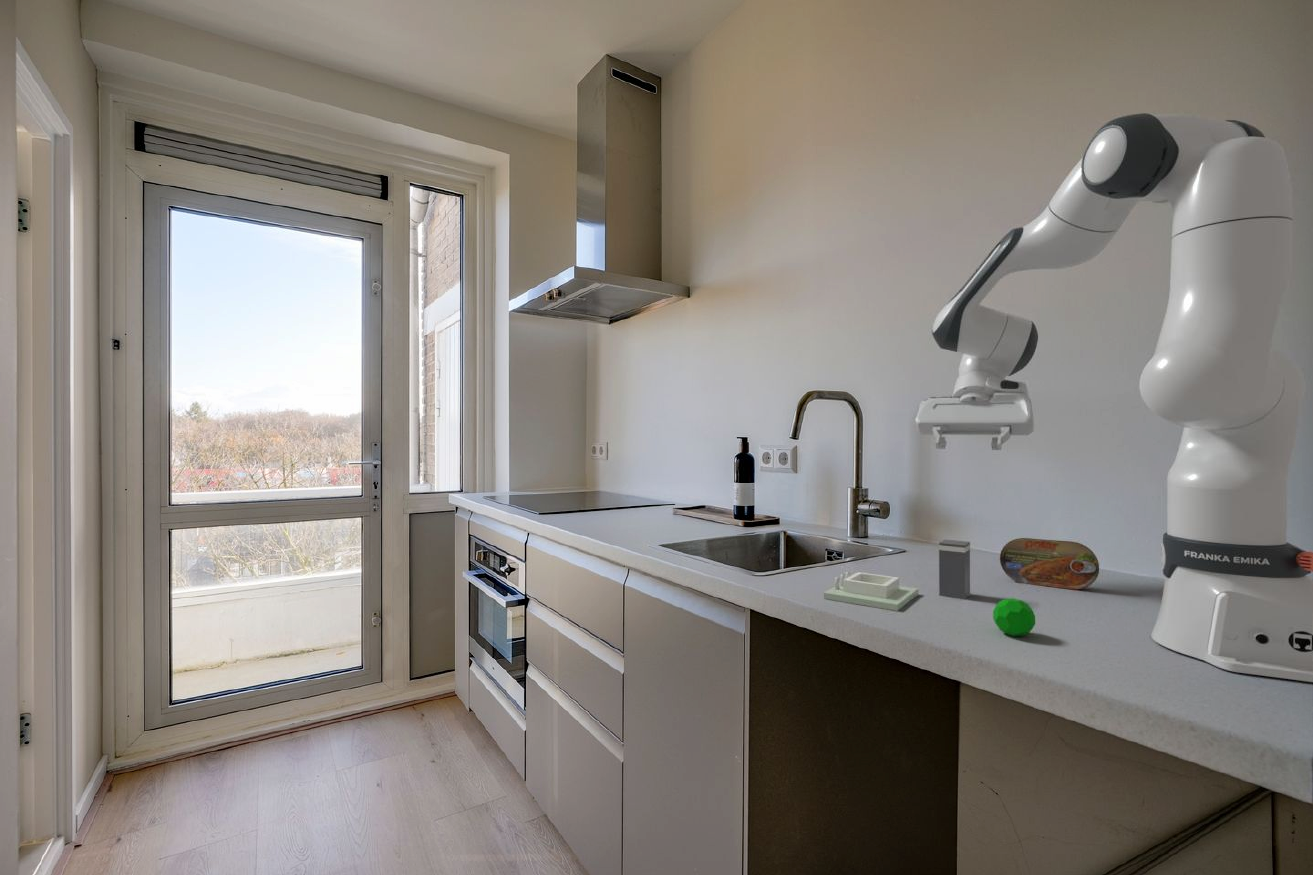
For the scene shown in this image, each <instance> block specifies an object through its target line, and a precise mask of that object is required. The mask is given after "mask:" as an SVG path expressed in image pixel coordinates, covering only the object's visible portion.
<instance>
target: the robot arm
mask: <svg viewBox="0 0 1313 875" xmlns="http://www.w3.org/2000/svg"><path fill="white" fill-rule="evenodd" d="M1056 190H1057V191H1056V192H1055V193H1054V194H1053V196H1052V197H1051V200H1050V201H1049V203H1048V205H1046V207H1045V209H1044V210H1043V211H1042V212H1041V214H1040V215H1038V216H1037V217H1036V218H1035V219H1034V220H1033V219H1032V221H1031V222H1029V223H1027V224H1025V225H1024V226H1021V227H1016V228H1013V229H1011V230H1010V231H1009V232H1008V233H1006V234H1005V235H1004V236H1003V237H1002V238H1001V239H1000V241H999V242H998V243H997V244H996V245H995V246H994V247H993V249H991V251H990V252H989V254H988V255H987V256H986V257H985V258H984V260H983V261H982V262H981V263H980V264H979V266H978V267H977V268H976V269H975V270H974V271H973V273H972V274H971V276H969V278H968V279H967V281H965V283H964V284H963V286H962V287H961V288H960V289H959V290H958V292H956V294H955V295H954V296H953V297H952V298H951V299H950V301H948V302H947V304H946V305H944V307H943V308H941V310H940V311H939V313H938V314H937V315H936V317H935V320H934V321H933V326H932V330H931V335H932V338H933V339H934V341H935V343H936V344H937V345H938V347H939V349H942V350H946V351H950V352H955V353H961V354H962V356H961V359H960V363H959V365H958V372H957V374H958V377H957V378H956V381H955V384H954V388H953V392H952V396H940V397H938V396H930V397H928V398H926V399H925V400H922V401H920V403H919V406H918V411H917V414H916V417H915V420H914V421H915V427H916V431H917V432H918V433H919V434H920V435H933V439H935V448H936V449H937V450H942V449H943V450H945V449H946V447H947V441H946V437H945V436H953V435H954V436H995V437H992V438H991V442H990V444H991V446H990V447H991V451H1002V447H1003V445H1004V444H1005V443H1006V442H1008V440H1009V439H1010V438H1011V436H1029V435H1031V434H1032V433H1033V432H1034V431H1035V430H1034V429H1035V428H1034V427H1035V426H1034V411H1033V406H1032V401H1031V398H1030V397H1029V396H1030V395H1029V391H1028V387H1027V384H1026V383H1025V382H1022V381H1015V380H1010V379H1006V378H1007V377H1010V376H1013V375H1014V374H1017V373H1019V372H1020V371H1022V370H1024V368H1025V367H1027V365H1028V364H1029V363H1030V362H1031V360H1032V358H1033V357H1034V355H1035V352H1036V349H1037V347H1038V342H1039V341H1038V340H1039V333H1038V329H1037V326H1036V324H1035V323H1034V322H1033V321H1032V320H1030V319H1028V318H1024V317H1022V316H1019V315H1015V314H1012V313H1009V312H1004V311H1000V310H998V309H995V308H990V307H987V306H984V305H981V303H982V302H983V301H984V299H985V298H986V297H987V296H988V295H989V293H990V292H991V291H992V290H993V289H994V288H995V287H996V285H997V284H998V283H999V282H1000V281H1001V280H1002V279H1003V278H1004V277H1006V276H1009V275H1010V274H1013V273H1016V272H1017V273H1018V272H1021V271H1030V270H1059V269H1066V268H1067V269H1068V268H1071V267H1075V266H1078V265H1079V266H1080V265H1082V264H1083V263H1087V262H1089V261H1090V260H1093V259H1094V258H1096V257H1097V256H1098V255H1099V254H1100V253H1101V252H1102V251H1103V250H1104V249H1105V248H1106V247H1107V246H1108V244H1109V243H1111V240H1113V238H1114V236H1116V234H1117V232H1119V230H1120V228H1121V227H1122V226H1123V224H1124V222H1125V220H1127V218H1128V216H1129V215H1130V213H1131V212H1132V211H1133V209H1134V208H1135V206H1136V205H1137V204H1139V202H1148V203H1153V204H1170V206H1171V208H1172V215H1173V216H1172V228H1171V229H1172V230H1171V250H1170V251H1171V253H1170V274H1169V275H1170V278H1169V296H1168V302H1167V307H1166V312H1165V315H1164V319H1163V321H1162V326H1161V328H1160V333H1159V336H1158V339H1157V342H1156V346H1155V350H1154V353H1153V356H1152V358H1150V360H1149V361H1148V362H1147V363H1146V365H1145V366H1144V368H1143V370H1142V372H1141V374H1140V377H1139V392H1140V396H1141V399H1142V401H1143V403H1144V404H1145V405H1146V406H1147V408H1148V409H1149V410H1151V411H1152V412H1153V413H1154V414H1156V415H1158V416H1159V417H1160V418H1162V419H1164V420H1165V421H1167V422H1170V423H1172V424H1175V425H1177V426H1179V427H1183V429H1182V430H1183V431H1182V434H1181V437H1180V438H1181V439H1180V441H1179V446H1178V450H1177V453H1176V457H1175V459H1174V461H1173V463H1172V465H1171V467H1170V469H1169V471H1168V472H1167V477H1166V525H1167V526H1166V532H1165V533H1164V534H1163V536H1162V542H1161V558H1160V559H1161V571H1162V574H1163V576H1164V585H1163V586H1164V587H1163V592H1162V599H1161V602H1160V603H1161V604H1160V607H1159V611H1158V615H1157V617H1156V618H1157V619H1156V622H1155V625H1154V627H1153V630H1152V632H1151V635H1150V637H1151V639H1152V640H1153V641H1154V642H1156V643H1157V644H1159V645H1161V646H1163V647H1165V648H1167V649H1169V650H1172V651H1174V652H1177V653H1180V654H1182V655H1186V656H1188V657H1193V658H1195V659H1198V660H1201V661H1204V662H1206V663H1209V664H1211V665H1213V666H1215V667H1217V668H1220V669H1223V670H1226V671H1230V672H1234V673H1242V674H1247V675H1257V676H1264V677H1271V678H1278V679H1286V680H1287V679H1288V680H1295V681H1301V682H1309V683H1313V578H1312V577H1310V576H1309V574H1312V572H1313V552H1312V551H1306V550H1304V549H1302V548H1300V547H1298V546H1295V545H1293V543H1290V542H1287V526H1288V525H1287V518H1288V516H1287V513H1288V512H1287V510H1288V509H1287V506H1288V505H1287V499H1288V496H1287V495H1288V494H1287V492H1288V489H1287V488H1288V487H1287V486H1288V476H1289V468H1290V462H1291V458H1292V454H1293V450H1294V446H1295V445H1294V444H1295V441H1296V437H1297V436H1296V435H1297V429H1298V424H1299V417H1300V411H1301V410H1300V409H1301V402H1302V401H1303V398H1304V396H1305V392H1306V385H1307V384H1306V379H1305V376H1304V374H1303V372H1302V370H1301V369H1300V367H1299V366H1298V365H1297V364H1296V363H1295V361H1294V360H1293V359H1292V358H1291V357H1289V356H1288V355H1286V354H1285V353H1283V352H1281V351H1280V350H1277V349H1274V348H1272V344H1273V337H1274V332H1275V329H1276V327H1277V326H1276V325H1277V321H1278V318H1279V314H1280V310H1281V307H1282V304H1283V301H1284V299H1285V298H1286V296H1287V294H1288V293H1289V291H1290V289H1291V288H1290V287H1291V280H1292V279H1291V278H1292V254H1293V250H1292V249H1293V229H1294V202H1293V201H1294V200H1293V196H1294V195H1293V188H1292V179H1291V175H1290V170H1289V165H1288V161H1287V156H1286V152H1285V150H1284V148H1283V146H1281V145H1280V144H1279V143H1278V142H1277V141H1275V140H1273V139H1271V138H1267V137H1266V136H1265V134H1264V133H1263V132H1262V131H1261V130H1260V129H1259V128H1257V127H1255V126H1253V125H1251V124H1250V123H1246V122H1244V121H1239V120H1237V119H1227V120H1226V119H1225V120H1223V119H1218V118H1214V117H1213V118H1212V117H1206V116H1198V115H1196V114H1193V113H1192V114H1191V113H1188V114H1187V113H1163V114H1162V113H1161V114H1150V113H1145V112H1144V113H1133V114H1128V115H1124V116H1120V117H1117V118H1115V119H1112V120H1110V121H1107V122H1106V123H1105V124H1103V125H1102V126H1101V127H1100V128H1099V129H1098V130H1097V132H1096V133H1095V134H1094V135H1093V136H1092V137H1091V139H1090V141H1089V142H1088V144H1087V146H1086V148H1085V149H1084V152H1083V155H1082V157H1081V159H1080V160H1079V161H1078V162H1077V163H1076V164H1075V165H1074V167H1073V168H1072V170H1070V171H1069V173H1068V175H1066V177H1065V178H1064V180H1063V181H1062V183H1061V184H1060V186H1059V187H1058V188H1057V189H1056ZM943 435H944V436H943Z"/></svg>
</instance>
